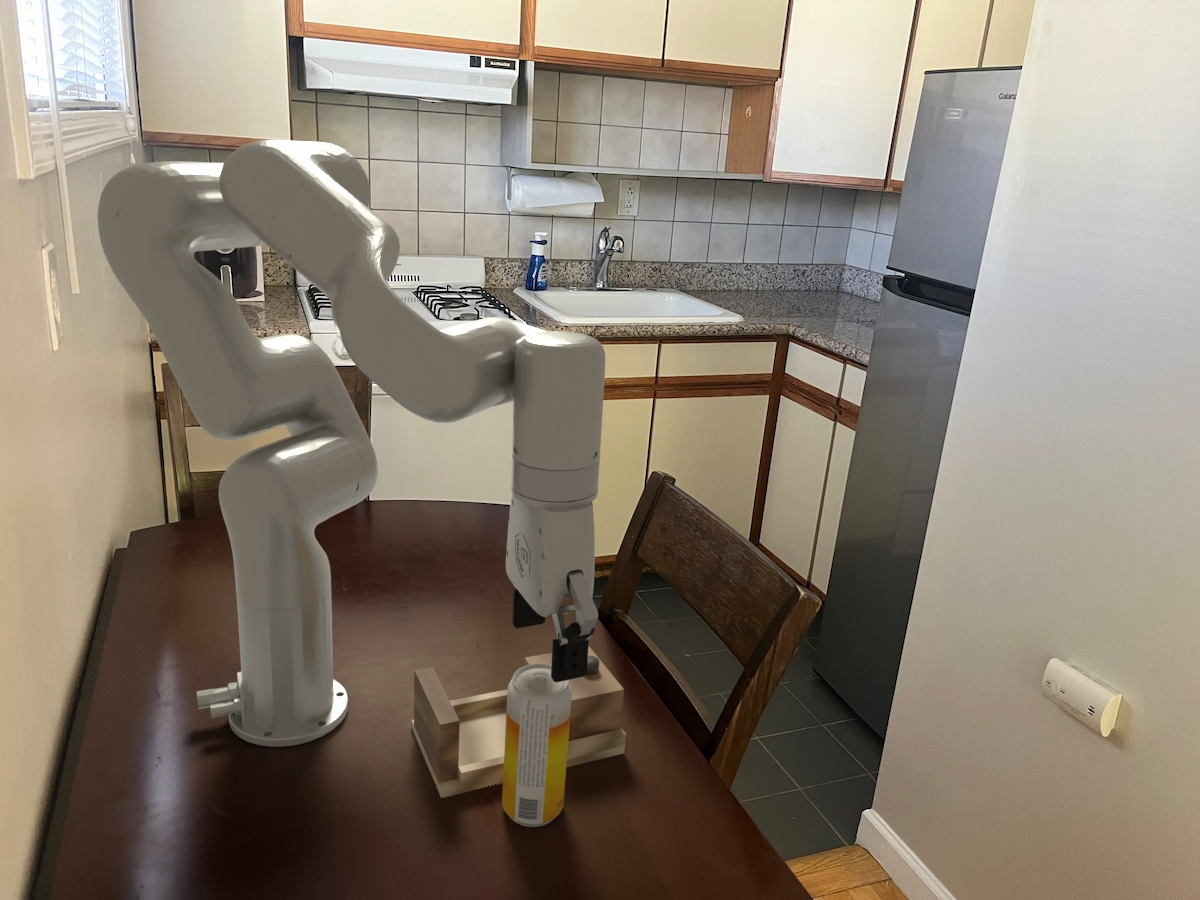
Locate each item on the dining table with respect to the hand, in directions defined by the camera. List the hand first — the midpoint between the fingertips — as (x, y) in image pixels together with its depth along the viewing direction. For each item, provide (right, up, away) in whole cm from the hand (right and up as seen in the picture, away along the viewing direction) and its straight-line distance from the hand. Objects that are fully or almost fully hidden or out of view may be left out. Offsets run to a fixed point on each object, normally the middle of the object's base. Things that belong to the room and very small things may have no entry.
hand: (547, 650), depth 82 cm
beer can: (-2, -17, +6) cm, 19 cm away
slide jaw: (+1, -12, +18) cm, 22 cm away
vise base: (-4, -14, +16) cm, 21 cm away
